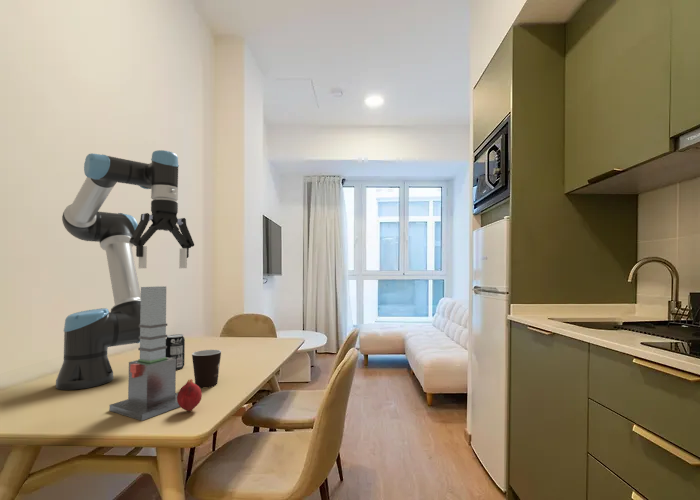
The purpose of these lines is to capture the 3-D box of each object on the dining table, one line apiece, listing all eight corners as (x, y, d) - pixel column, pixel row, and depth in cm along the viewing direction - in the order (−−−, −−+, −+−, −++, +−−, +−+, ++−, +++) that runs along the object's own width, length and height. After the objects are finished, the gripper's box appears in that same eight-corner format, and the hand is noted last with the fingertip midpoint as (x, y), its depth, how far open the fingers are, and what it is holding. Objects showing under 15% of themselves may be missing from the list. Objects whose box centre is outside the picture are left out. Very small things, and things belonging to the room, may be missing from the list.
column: (137, 370, 98) (139, 287, 99) (155, 366, 102) (156, 286, 103) (149, 373, 95) (150, 287, 96) (166, 368, 99) (167, 286, 101)
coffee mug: (211, 389, 111) (211, 356, 112) (185, 388, 113) (185, 355, 113) (231, 378, 123) (231, 348, 123) (207, 377, 124) (207, 347, 125)
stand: (109, 410, 95) (110, 363, 96) (160, 394, 107) (160, 352, 108) (141, 420, 88) (142, 369, 89) (192, 402, 101) (192, 357, 101)
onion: (200, 414, 92) (200, 381, 92) (175, 417, 90) (175, 383, 91) (202, 406, 98) (202, 375, 98) (178, 408, 96) (179, 377, 96)
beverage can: (171, 365, 141) (172, 334, 141) (188, 366, 140) (188, 334, 140) (160, 370, 134) (161, 337, 135) (177, 370, 133) (177, 337, 134)
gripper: (131, 192, 104) (130, 268, 103) (205, 205, 126) (205, 268, 124) (116, 195, 108) (115, 268, 106) (191, 207, 129) (190, 268, 128)
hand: (163, 268), depth 115 cm, fingers open, 13 cm apart
